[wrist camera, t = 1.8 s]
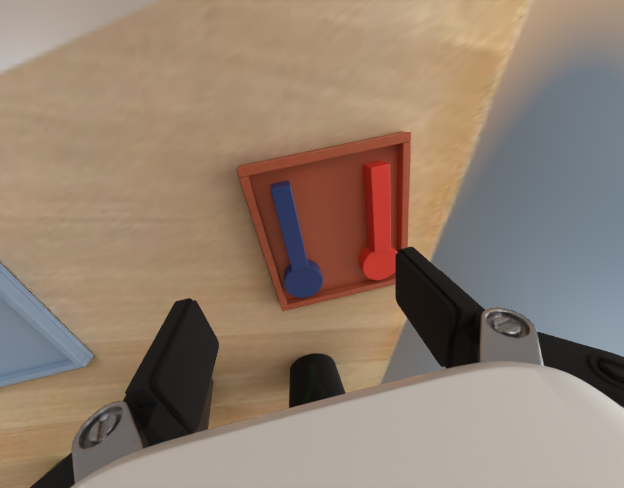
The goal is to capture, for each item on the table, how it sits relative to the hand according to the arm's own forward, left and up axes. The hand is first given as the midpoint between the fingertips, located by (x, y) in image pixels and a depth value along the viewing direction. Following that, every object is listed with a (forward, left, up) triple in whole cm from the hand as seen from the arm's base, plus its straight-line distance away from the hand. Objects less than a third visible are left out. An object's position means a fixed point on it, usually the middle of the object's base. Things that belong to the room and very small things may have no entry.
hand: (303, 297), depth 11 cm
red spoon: (+2, +7, -9) cm, 11 cm away
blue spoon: (+2, 0, -9) cm, 9 cm away
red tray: (+2, +3, -9) cm, 10 cm away
